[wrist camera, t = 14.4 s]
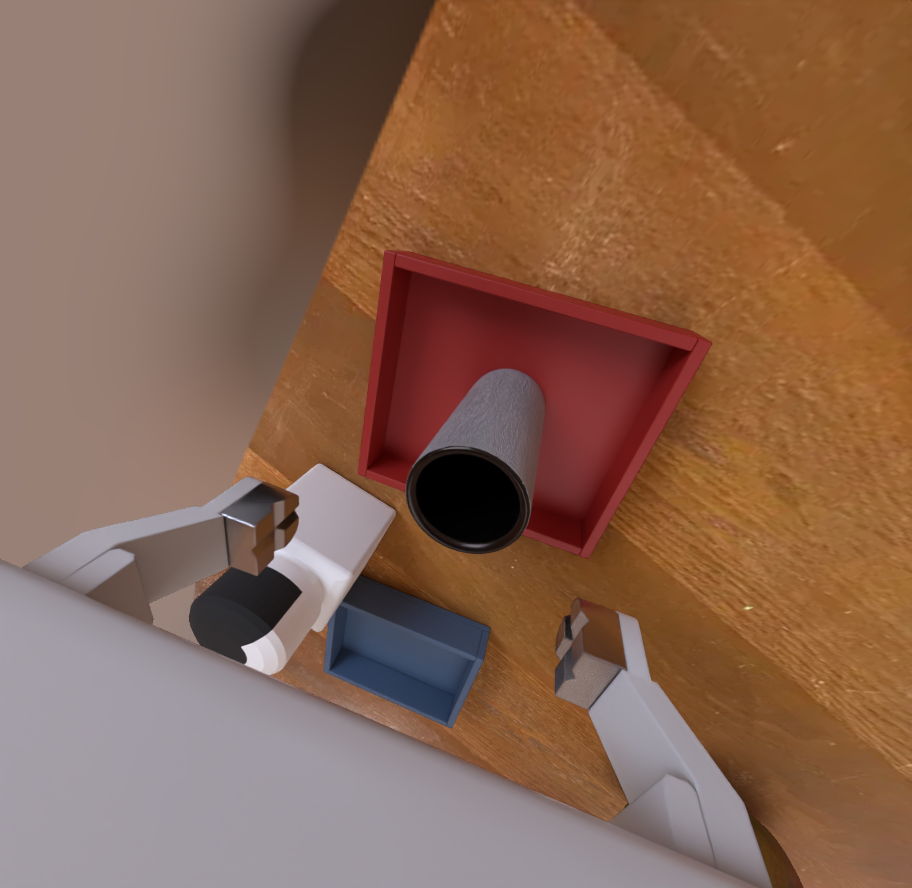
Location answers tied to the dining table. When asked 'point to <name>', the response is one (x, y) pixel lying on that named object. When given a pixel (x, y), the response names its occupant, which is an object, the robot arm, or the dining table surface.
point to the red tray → (543, 359)
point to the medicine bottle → (294, 576)
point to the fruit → (774, 858)
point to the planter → (481, 466)
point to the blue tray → (405, 650)
